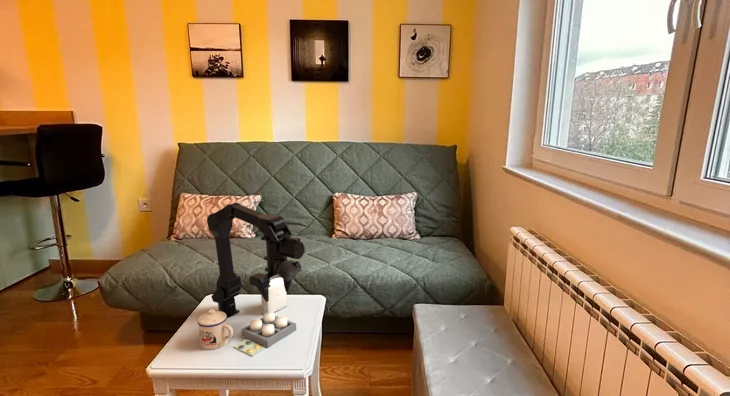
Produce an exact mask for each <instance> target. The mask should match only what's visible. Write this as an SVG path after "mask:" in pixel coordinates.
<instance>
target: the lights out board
mask: <svg viewBox="0 0 730 396" xmlns="http://www.w3.org/2000/svg"><path fill="white" fill-rule="evenodd" d="M278 317H279V315H275V319H276V318H278ZM259 319H260V320H262V326H264V325H266V324H265V323H264V319H263V317H261V318H259ZM272 324H273V325H274V332H275V334H274V335H273V336H271V337H263V336H262V330H260V331H258V332H252V331H250V324H248V325H247V326H245V327H243V328H241V329H240V330H241V331H240V332H241V337H243V338H245V339H244V340H242V341H241V342H239V343H237V344H236V345H234V346H233V348H234V349H236V350H238V351H240V352H242V353H244V354H246V355H248V356H250V357H254V356H256V355H257V354H259V353H261V352H263V351H264V350H266V349H265V347H266V348H268V349H269V348H270V347H271V346H273V345H275V344H277V343H278V342H279V341H281V340H284V338H286V337H288V336H289V335H291V334H293V333H294V332H296V331H297V323H296V322H293V321H291V320H288V319H287V327H286V328H284V329H277V328H276V324H275V322H274V323H272ZM261 345H262V346H261Z"/></svg>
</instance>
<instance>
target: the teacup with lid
mask: <svg viewBox="0 0 730 396" xmlns="http://www.w3.org/2000/svg"><path fill="white" fill-rule="evenodd" d="M227 320H228V318H227V315H226V314H225V313H224V312H222V311H219V310H215V309H213V308H211V309H209V310H208V312H205V313H203V314H201V316H199V317H198V319H197V324H198V331H199V339H200V340H199V341H200V347H201V348H203V349H204V350H216V349H220V348H222V347H224V346H226V345H227V343H228V342H229V339H231V338H232V336H233V333H234V330H233V327H232V326H231V325H230V324H228V322H227Z"/></svg>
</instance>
